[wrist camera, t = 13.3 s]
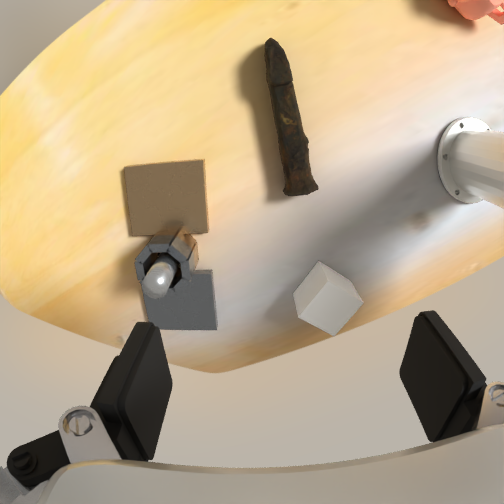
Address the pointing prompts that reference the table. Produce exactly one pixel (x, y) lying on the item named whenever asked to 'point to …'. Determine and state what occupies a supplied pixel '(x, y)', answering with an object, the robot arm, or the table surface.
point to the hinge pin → (160, 276)
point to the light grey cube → (326, 299)
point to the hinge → (173, 239)
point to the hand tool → (288, 123)
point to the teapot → (479, 9)
